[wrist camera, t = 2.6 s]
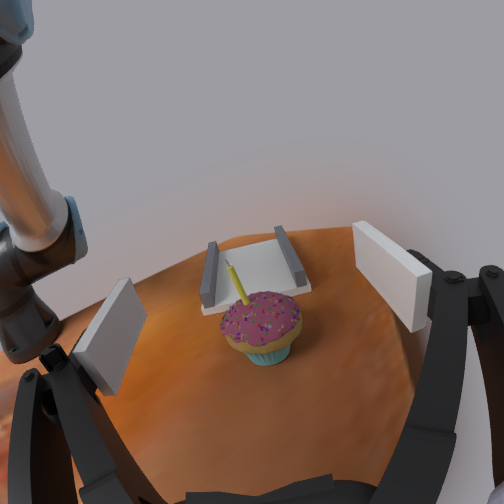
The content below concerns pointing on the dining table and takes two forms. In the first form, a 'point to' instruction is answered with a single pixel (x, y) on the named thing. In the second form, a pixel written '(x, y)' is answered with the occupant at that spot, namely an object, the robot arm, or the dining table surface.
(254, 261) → the rail board
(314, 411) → the dining table surface
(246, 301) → the cupcake
